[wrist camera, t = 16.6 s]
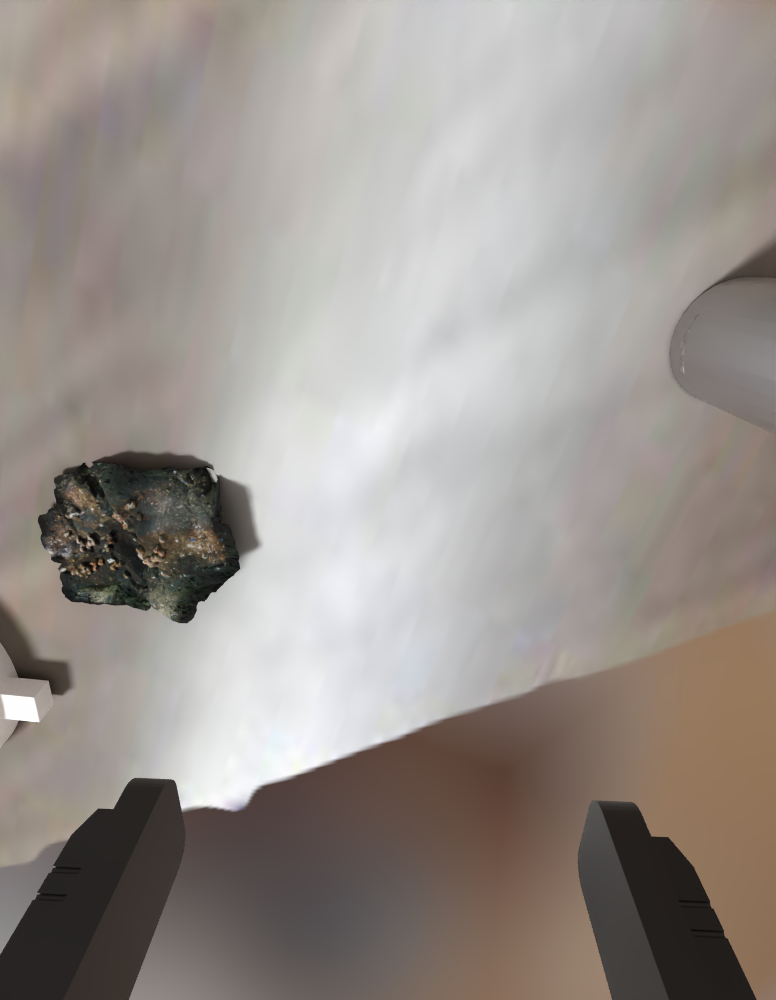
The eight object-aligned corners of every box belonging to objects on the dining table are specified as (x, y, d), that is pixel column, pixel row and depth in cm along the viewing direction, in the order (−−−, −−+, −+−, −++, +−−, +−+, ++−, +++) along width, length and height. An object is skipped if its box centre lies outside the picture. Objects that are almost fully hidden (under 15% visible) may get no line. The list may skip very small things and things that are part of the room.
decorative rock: (64, 645, 50) (-35, 510, 44) (100, 603, 56) (17, 477, 49) (248, 613, 47) (171, 460, 40) (267, 571, 52) (202, 430, 45)
